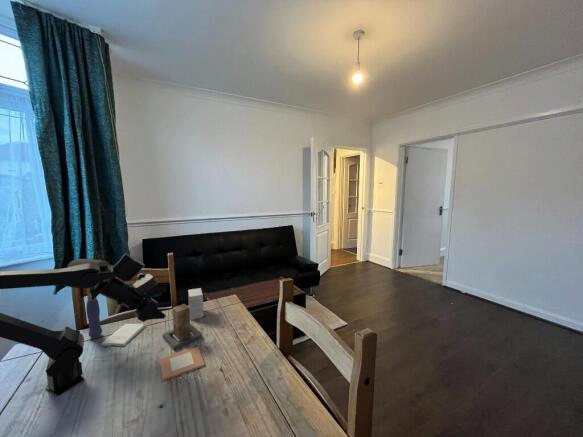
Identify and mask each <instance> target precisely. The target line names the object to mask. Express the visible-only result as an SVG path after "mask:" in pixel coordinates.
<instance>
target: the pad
mask: <svg viewBox="0 0 583 437" xmlns="http://www.w3.org/2000/svg"><path fill="white" fill-rule="evenodd" d="M205 364H206V363H205V362H204V359H203V357H202V354H201V350H200V348H199V347H198V346H197V347H193V348H190V349H186V350H184V351H180V352H177V353H174V354H170V355H167V356H164V357H160V358H159V365H160V372H161V380H162V382H164V381H166V380H169V379H172V378H175V377H177V376H180V375H183V374H186V373H188V372H191V371H194V370H196V369H200V368H203V367H205Z"/></svg>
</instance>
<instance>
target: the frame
mask: <svg viewBox="0 0 583 437" xmlns="http://www.w3.org/2000/svg"><path fill="white" fill-rule="evenodd" d="M190 329H191V334H192V336H191V337H188V338H186V339H184V340H182V341H179V342H176V341H175V340H174V339H173V335H174V329H172V330H170V331H167V332H164V333H162V339H163V340H164V341H165V342H166V344H167V345H168V346H169V348H171V349H172V350H173V351H176V350H178V349H180V348H182V347H185V346H187V345H190V344H192V343H194V342H196V341H199V340H200V339H203V334H202V332H201V331H200V330H198V329H197V328H196V327H195V326H194V325H193V324H192V323H190Z"/></svg>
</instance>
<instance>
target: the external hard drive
mask: <svg viewBox="0 0 583 437" xmlns="http://www.w3.org/2000/svg"><path fill="white" fill-rule="evenodd" d="M145 327H146V324H145V323H125V324H123V325H122V326H121V327H120V328H118V330H116V331H115V332H114V333H112V334H111V335H110V336H108V337H107V339H105V340H104V341H102V342H101V346H103V347H105V346H106V347H107V346H108V347H109V346H110V347H111V346H113V347H125V346H126V345H127V344H128V343H130V341H131V340H132V339H133V338H134V337H136V336H137V335H138V334H139V333H140V332H141V331H142V330H143V329H144V328H145Z"/></svg>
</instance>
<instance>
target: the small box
mask: <svg viewBox="0 0 583 437" xmlns="http://www.w3.org/2000/svg"><path fill="white" fill-rule="evenodd" d="M187 294H188V295H187V296H188V307H189V308H190V321H191V320H197V318H198V319H202V317H203V318H204V315H205V314H204V295H203V291H202V287H199V288H192V289H188V290H187Z"/></svg>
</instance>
